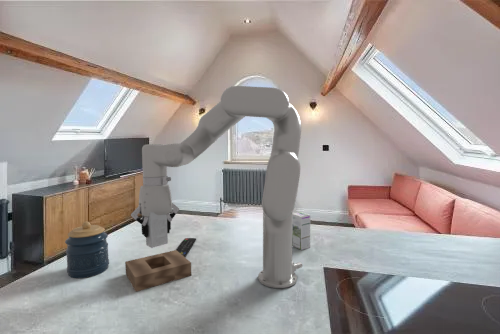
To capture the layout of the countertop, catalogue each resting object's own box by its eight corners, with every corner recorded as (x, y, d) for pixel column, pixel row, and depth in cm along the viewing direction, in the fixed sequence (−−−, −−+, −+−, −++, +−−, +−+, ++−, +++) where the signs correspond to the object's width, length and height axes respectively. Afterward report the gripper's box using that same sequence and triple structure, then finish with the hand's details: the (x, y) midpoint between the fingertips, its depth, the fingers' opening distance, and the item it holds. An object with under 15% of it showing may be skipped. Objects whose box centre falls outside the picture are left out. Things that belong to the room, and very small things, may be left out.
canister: (62, 270, 100) (59, 222, 98) (101, 259, 109) (99, 215, 108) (73, 283, 91) (70, 229, 89) (115, 269, 100) (112, 221, 99)
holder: (176, 261, 107) (176, 249, 107) (191, 275, 96) (191, 262, 95) (125, 274, 97) (125, 261, 96) (135, 291, 85) (135, 277, 85)
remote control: (169, 262, 107) (169, 259, 107) (185, 240, 131) (185, 237, 131) (183, 262, 107) (183, 259, 107) (196, 240, 131) (196, 238, 131)
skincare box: (162, 240, 99) (161, 207, 98) (168, 243, 96) (167, 209, 95) (145, 245, 95) (144, 210, 94) (151, 248, 92) (149, 212, 91)
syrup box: (310, 247, 120) (311, 214, 119) (300, 250, 117) (301, 216, 116) (301, 243, 125) (301, 211, 124) (291, 246, 122) (291, 213, 121)
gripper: (176, 178, 101) (177, 227, 103) (124, 182, 92) (126, 236, 93) (184, 180, 95) (185, 232, 97) (129, 185, 85) (132, 242, 87)
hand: (156, 233), depth 95 cm, fingers closed on skincare box, 6 cm apart
